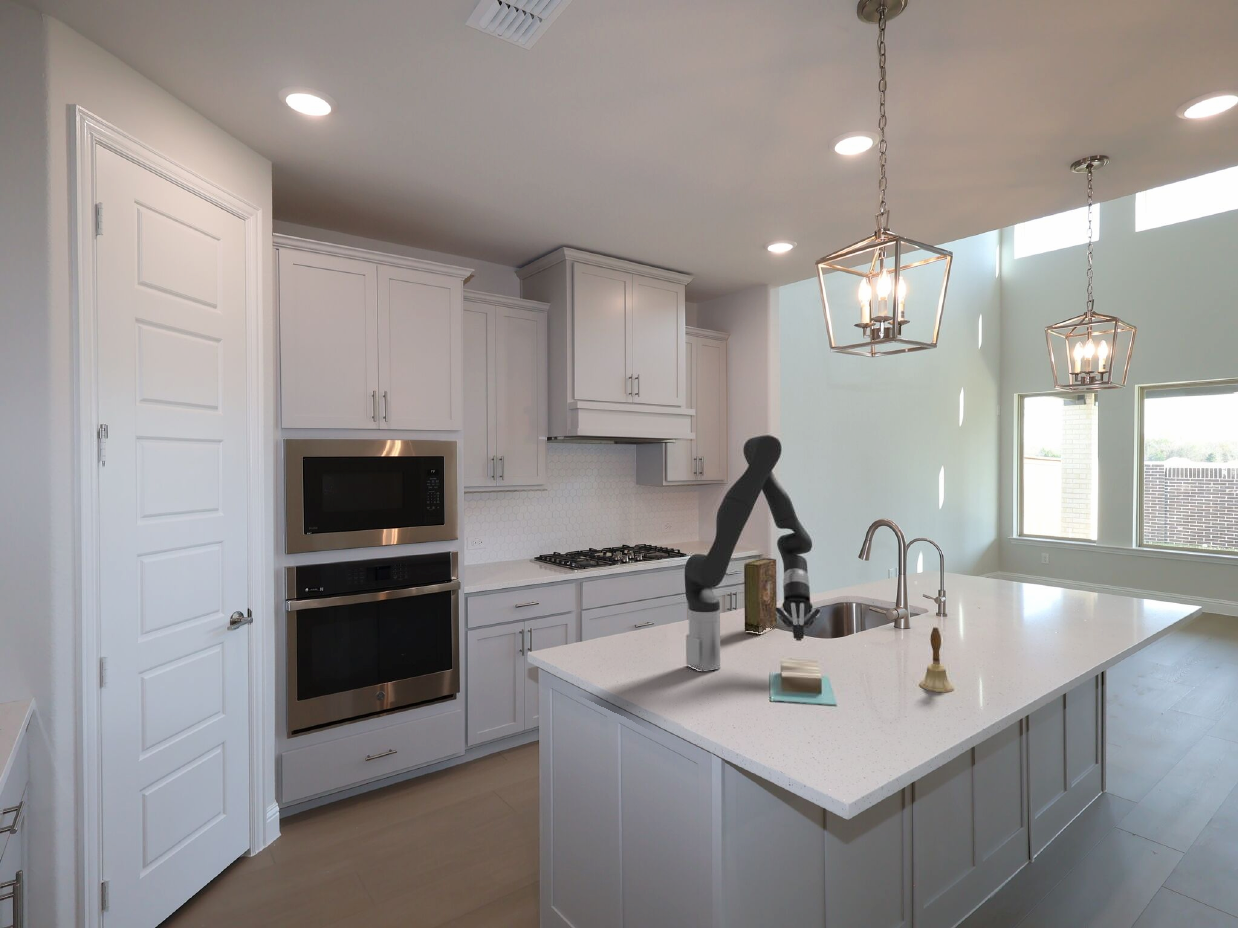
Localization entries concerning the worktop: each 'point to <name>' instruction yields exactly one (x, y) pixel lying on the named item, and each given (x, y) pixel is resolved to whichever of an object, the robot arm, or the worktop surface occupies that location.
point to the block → (800, 676)
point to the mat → (801, 697)
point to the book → (760, 595)
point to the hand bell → (936, 668)
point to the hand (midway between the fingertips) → (798, 639)
